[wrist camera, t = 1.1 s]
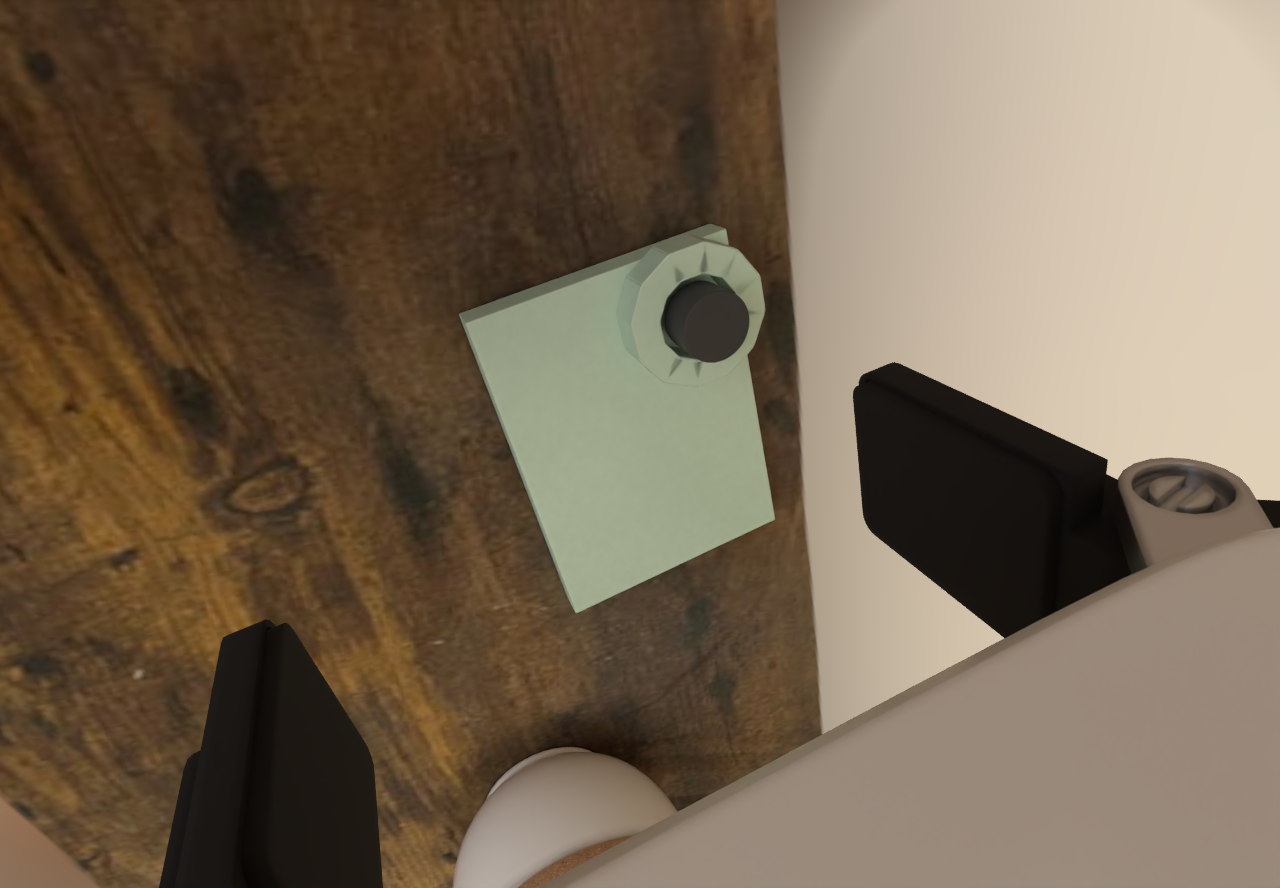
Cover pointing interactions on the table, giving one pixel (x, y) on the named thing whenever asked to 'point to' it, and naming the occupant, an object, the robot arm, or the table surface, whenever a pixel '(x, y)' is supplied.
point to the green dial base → (627, 414)
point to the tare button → (707, 321)
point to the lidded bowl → (555, 818)
